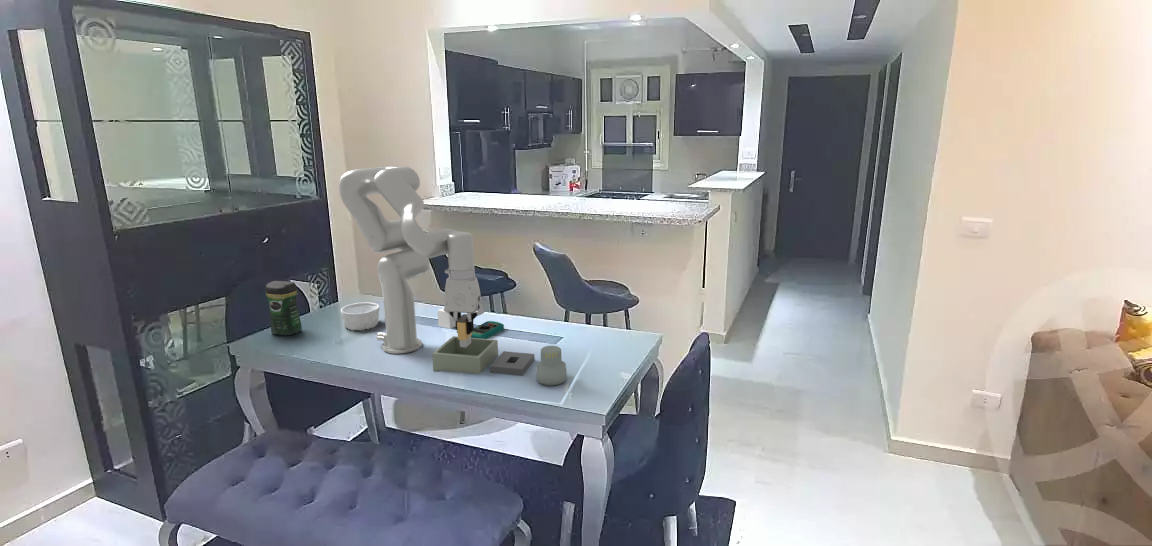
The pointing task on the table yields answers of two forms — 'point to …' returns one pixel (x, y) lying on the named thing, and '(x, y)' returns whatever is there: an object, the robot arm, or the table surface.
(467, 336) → the block
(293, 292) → the coffee jar
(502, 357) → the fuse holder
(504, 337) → the table surface
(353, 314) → the ramekin
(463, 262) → the robot arm
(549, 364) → the air freshener
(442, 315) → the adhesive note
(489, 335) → the digital multimeter
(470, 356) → the parts tray
